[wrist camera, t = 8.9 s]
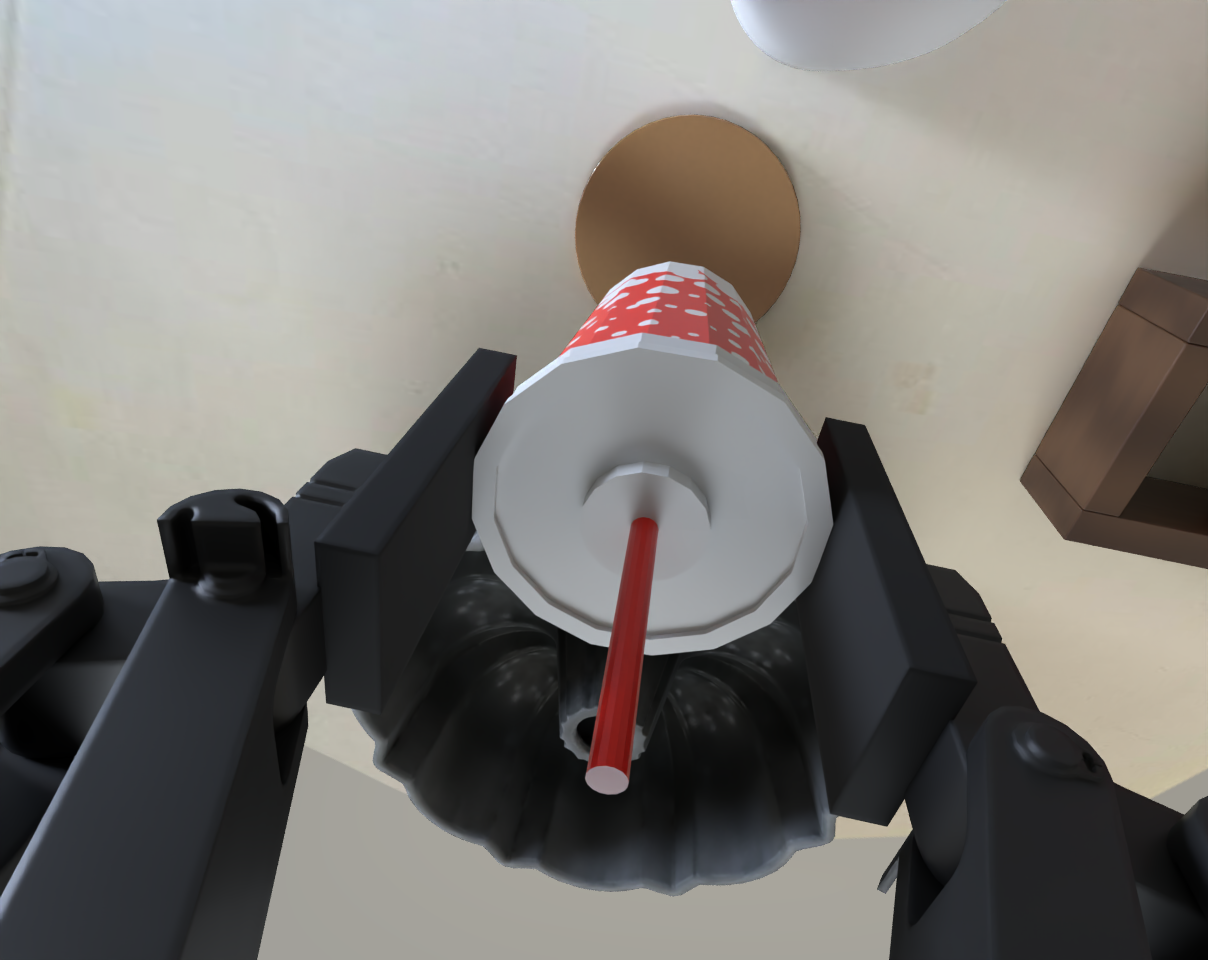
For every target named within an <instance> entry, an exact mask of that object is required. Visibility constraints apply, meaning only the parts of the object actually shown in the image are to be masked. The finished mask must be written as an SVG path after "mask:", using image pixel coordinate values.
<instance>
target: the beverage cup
mask: <svg viewBox="0 0 1208 960" xmlns="http://www.w3.org/2000/svg"><path fill="white" fill-rule="evenodd" d="M472 520H473V523H474V525H475V528H476V530H477V532H478V535H479V537H480V539H481V542H482V544H483V547H484V549H485V551H486V554H487V556H488V559H489V561H490V563H491V566H492V568H493V570H494V573H495V574H496V575H497V576H498V577H499V578H500V579H501V580H502V581H503V582H504V583H505V584H506V585H507V586H508V587H509V588H510V589H511V590H512V591H513V592H514V593H515V594H516V595H517V596H518V597H519V598H520V599H521V600H522V601H523V603H524V604H525V605H526V606H527V607H528V608H529V609H530V610H531V611H532V612H533V613H534V614H535V615H536V616H538V617H540V618H542V619H544V620H546V621H548V622H550V623H552V624H553V625H555V626H557V627H559V628H561V629H563V630H565V631H567V632H569V633H571V634H573V635H574V636H576V637H578V638H580V639H582V640H584V641H586V642H588V643H590V644H594V645H599V646H604V647H609V649H608V655H607V660H606V666H605V671H604V677H603V682H602V688H601V694H600V699H599V705H598V710H597V716H596V721H595V727H594V732H593V738H592V743H591V749H590V754H589V760H588V766H587V771H586V777H585V780H586V782H587V784H588V785H589V786H590V787H591V788H592V789H593V790H595V791H597V792H599V793H603V794H608V795H609V794H618V793H621V792H623V791H624V790H625V789H626V788H627V787H628V783H629V776H630V768H631V759H632V751H633V742H634V734H635V725H636V717H637V708H638V700H639V691H640V683H641V674H642V666H643V657H644V654H646V655H651V656H652V655H662V654H672V653H681V652H691V651H701V650H711V649H715V648H718V647H720V646H722V645H724V644H727V643H729V642H731V641H733V640H736V639H738V638H740V637H742V636H745V635H747V634H749V633H751V632H754V631H756V630H758V629H760V628H762V627H765V626H767V625H769V624H771V623H772V622H773V621H774V620H775V619H776V618H777V617H778V616H779V615H780V614H781V613H782V612H783V611H784V610H785V609H786V608H787V607H788V606H789V605H790V604H791V603H792V602H793V601H794V600H795V599H796V598H797V597H798V596H799V595H800V594H801V593H802V592H803V591H804V590H805V589H806V588H807V587H808V586H809V585H810V584H811V582H812V580H813V577H814V575H815V572H816V570H817V567H818V565H819V562H820V560H821V557H822V554H823V552H824V549H825V546H826V543H827V541H828V538H829V535H830V532H831V530H832V527H833V518H832V511H831V503H830V496H829V488H828V480H827V473H826V465H825V460H824V456H823V453H822V451H821V450H820V448H819V447H818V445H817V439H816V437H815V436H814V434H813V433H812V432H811V430H810V429H809V427H808V426H807V424H806V423H805V421H804V420H803V418H802V417H801V415H800V414H799V412H798V411H797V409H796V408H795V407H794V405H793V404H792V402H791V401H790V399H789V398H788V396H787V395H786V393H785V392H784V390H783V389H782V387H781V386H780V384H779V383H778V381H777V379H776V376H775V374H774V371H773V369H772V366H771V364H770V361H769V359H768V356H767V353H766V351H765V348H764V346H763V343H762V341H761V338H760V336H759V333H758V331H757V328H756V325H755V323H754V320H753V318H752V315H751V313H750V311H749V310H748V308H747V307H746V305H745V304H744V302H743V301H742V299H741V298H740V296H739V295H738V293H737V292H736V290H735V289H734V287H733V286H732V285H731V284H730V283H728V282H727V281H725V280H724V279H722V278H720V277H719V276H717V275H716V274H714V273H713V272H711V271H709V270H708V269H706V268H705V267H702V266H695V265H689V264H683V263H677V262H671V261H669V262H665V263H661V264H657V265H653V266H649V267H645V268H641V269H637V270H636V271H634V272H633V273H632V274H630V275H629V276H627V277H626V278H625V279H623V280H622V281H621V282H619V283H618V284H617V285H615V286H614V287H613V288H611V289H610V290H609V292H608V293H607V294H606V296H605V297H604V298H603V300H602V301H601V302H600V303H599V305H598V306H597V307H596V309H595V310H594V311H593V313H592V314H591V315H590V317H589V318H588V319H587V320H586V322H585V323H584V324H583V326H582V327H581V328H580V330H579V331H578V332H577V333H576V335H575V336H574V337H573V339H572V340H571V341H570V343H569V344H568V345H567V347H566V348H565V349H564V350H563V352H562V353H561V354H560V356H559V357H558V358H557V359H555V360H554V361H553V362H551V363H550V364H548V365H547V366H546V367H544V368H543V369H541V370H540V371H539V372H537V373H536V374H534V375H533V376H532V377H530V378H529V379H528V380H526V381H525V382H523V383H522V384H521V385H519V386H518V387H517V388H516V390H515V392H514V394H513V395H512V396H510V397H509V398H508V399H507V401H506V402H505V404H504V405H503V407H502V409H501V411H500V413H499V415H498V416H497V418H496V420H495V422H494V424H493V426H492V427H491V429H490V431H489V433H488V435H487V437H486V438H485V440H484V442H483V444H482V446H481V448H480V449H479V451H478V453H477V455H476V457H475V459H474V470H473V496H472Z"/></svg>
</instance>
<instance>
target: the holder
mask: <svg viewBox="0 0 1208 960" xmlns="http://www.w3.org/2000/svg"><path fill="white" fill-rule="evenodd" d="M1119 304H1120V305H1117V307H1116V309H1115V310H1114V312H1113V314H1112V316H1111V318H1110V319H1109V321H1108V323H1107V325H1106V327H1105V328H1104V330H1103V332H1102V334H1101V336H1100V337H1099V339H1098V341H1097V343H1096V345H1095V346H1094V348H1093V350H1092V352H1091V354H1090V355H1089V357H1088V359H1087V361H1086V363H1085V364H1084V366H1083V368H1082V370H1081V372H1080V373H1079V375H1078V377H1077V379H1076V381H1075V383H1074V384H1073V386H1072V388H1071V390H1070V392H1069V393H1068V395H1067V397H1066V399H1065V401H1064V402H1063V404H1062V406H1061V408H1060V410H1059V411H1058V413H1057V415H1056V417H1055V419H1054V420H1053V422H1052V424H1051V426H1050V428H1049V429H1048V431H1047V433H1046V435H1045V437H1044V438H1043V440H1042V442H1041V444H1040V446H1039V447H1038V449H1037V451H1036V454H1035V455H1034V456H1033V458H1032V460H1031V461H1030V463H1029V465H1028V467H1027V469H1026V470H1025V472H1024V474H1023V476H1022V478H1021V479H1020V482H1021V483H1022V485H1023V486H1024V487H1025V489H1026V490H1027V491H1028V493H1029V494H1030V495H1031V496H1032V498H1033V499H1034V500H1035V502H1036V503H1037V504H1038V506H1039V507H1040V508H1041V510H1042V511H1043V512H1044V514H1045V515H1046V516H1047V518H1048V519H1049V520H1050V522H1051V523H1052V524H1053V525H1054V527H1055V528H1056V529H1057V531H1058V532H1059V533H1060V535H1061V536H1062V537H1063V539H1065V540H1069V541H1074V542H1079V543H1084V544H1089V545H1093V546H1098V547H1103V548H1108V549H1113V550H1118V551H1123V552H1128V553H1132V554H1137V555H1142V556H1147V557H1152V558H1157V559H1162V560H1167V561H1171V562H1176V563H1181V564H1186V565H1191V566H1196V567H1201V568H1205V569H1208V489H1204V488H1199V487H1194V486H1189V485H1184V484H1180V483H1175V482H1170V481H1165V480H1160V479H1155V478H1150V477H1146V475H1147V474H1148V472H1149V471H1150V469H1151V468H1152V466H1153V465H1154V463H1155V462H1156V460H1157V459H1158V457H1159V456H1160V454H1161V453H1162V451H1163V450H1164V448H1165V447H1166V445H1167V444H1168V442H1169V441H1170V439H1171V438H1172V436H1173V435H1174V433H1175V432H1176V430H1177V429H1178V427H1179V426H1180V424H1181V423H1182V421H1183V420H1184V418H1185V417H1186V415H1187V414H1188V412H1189V411H1190V409H1191V408H1192V406H1193V404H1194V403H1195V401H1196V400H1197V398H1198V397H1199V395H1200V394H1201V392H1202V391H1203V389H1204V388H1205V386H1206V385H1207V383H1208V281H1207V280H1202V279H1196V278H1191V277H1186V276H1181V275H1175V274H1170V273H1165V272H1160V271H1154V270H1149V269H1144V268H1138V269H1137V270H1136V272H1135V274H1134V276H1133V277H1132V279H1131V281H1130V283H1129V285H1128V286H1127V288H1126V290H1125V292H1124V294H1123V295H1122V297H1121V299H1120V301H1119Z"/></svg>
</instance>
